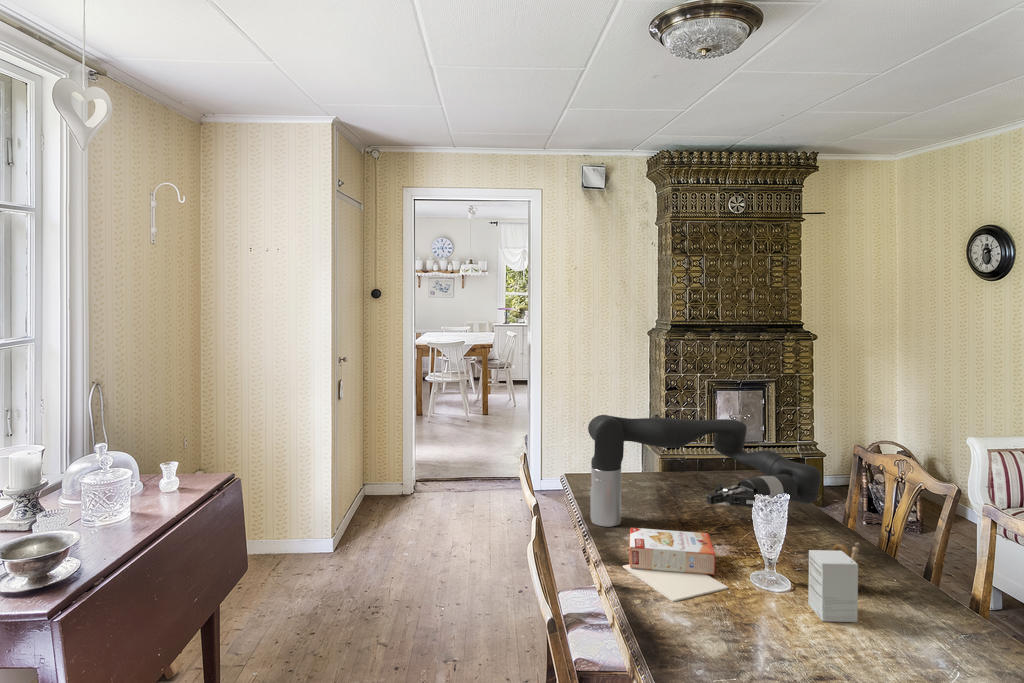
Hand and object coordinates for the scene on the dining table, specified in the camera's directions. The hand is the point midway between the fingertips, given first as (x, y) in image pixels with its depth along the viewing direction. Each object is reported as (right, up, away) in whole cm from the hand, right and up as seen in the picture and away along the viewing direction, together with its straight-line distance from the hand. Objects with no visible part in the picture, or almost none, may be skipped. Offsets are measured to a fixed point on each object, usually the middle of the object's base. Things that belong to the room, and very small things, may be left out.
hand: (708, 499), depth 148 cm
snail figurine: (+29, -19, -10) cm, 35 cm away
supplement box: (+19, -19, -21) cm, 35 cm away
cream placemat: (-10, -18, -4) cm, 21 cm away
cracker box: (+2, -14, +3) cm, 15 cm away
